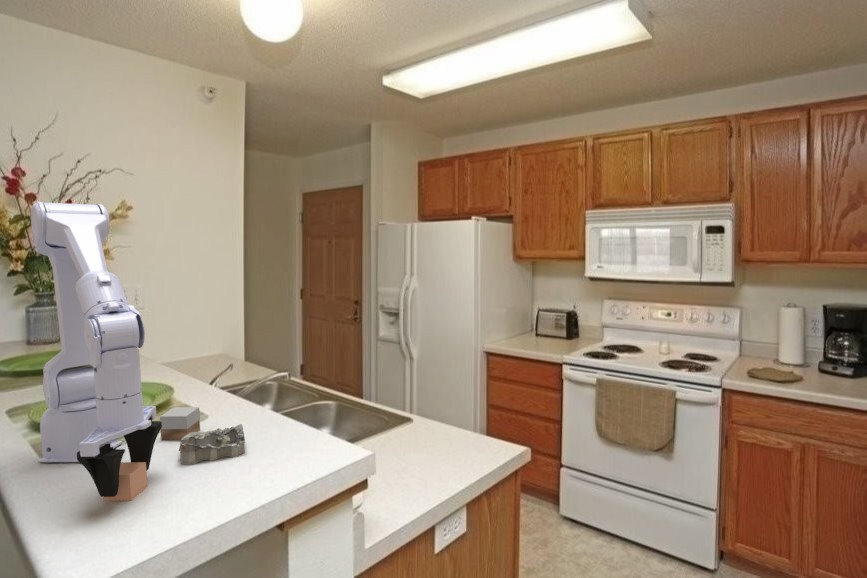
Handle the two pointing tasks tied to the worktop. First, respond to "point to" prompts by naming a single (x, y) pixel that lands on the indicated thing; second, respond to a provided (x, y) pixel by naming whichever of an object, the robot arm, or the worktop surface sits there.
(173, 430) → the tower base
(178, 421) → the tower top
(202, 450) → the egg carton
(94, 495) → the worktop surface
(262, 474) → the worktop surface
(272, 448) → the worktop surface
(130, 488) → the terracotta cube
